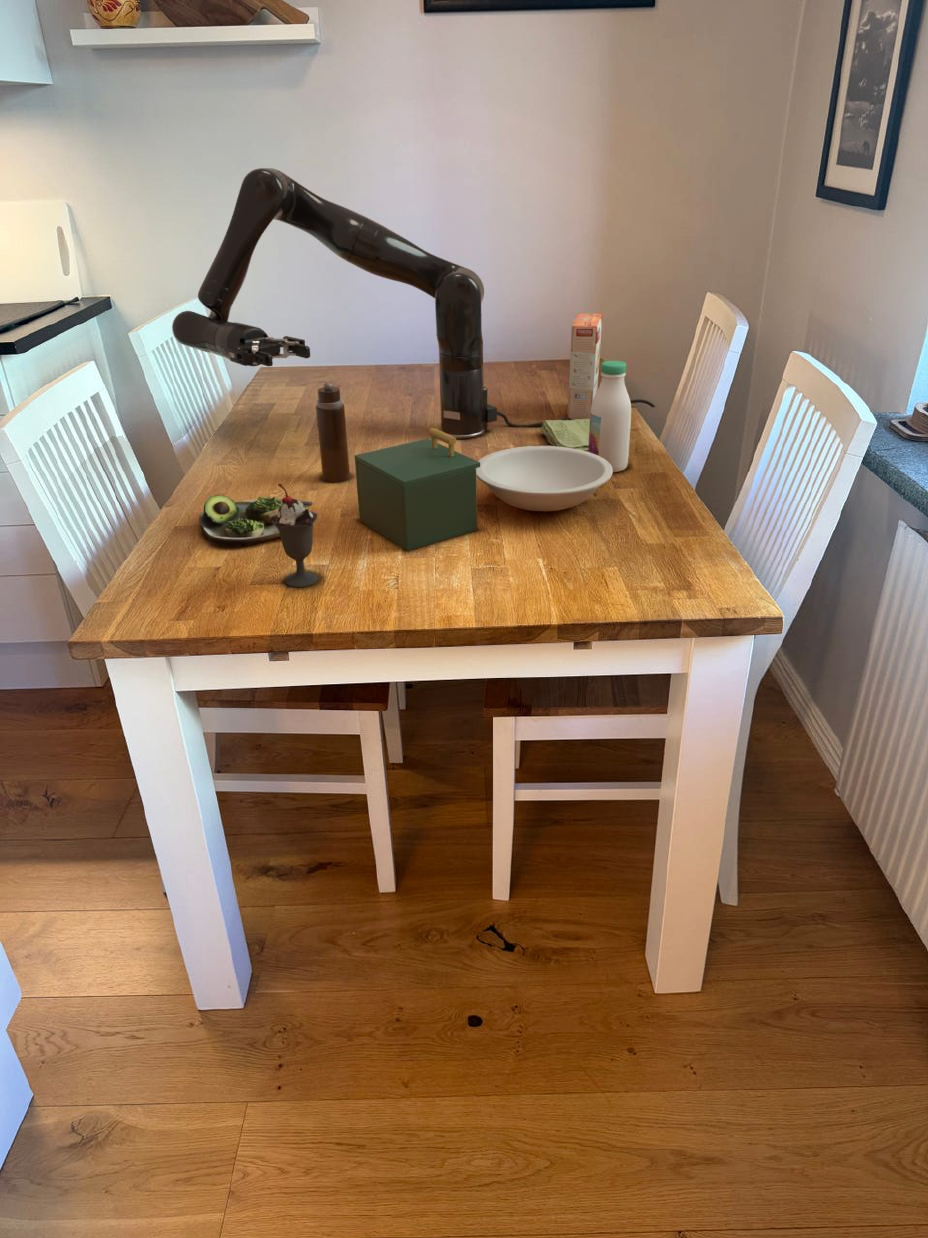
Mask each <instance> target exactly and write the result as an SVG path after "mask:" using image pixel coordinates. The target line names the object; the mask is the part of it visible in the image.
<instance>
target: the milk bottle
mask: <svg viewBox="0 0 928 1238" xmlns="http://www.w3.org/2000/svg"><path fill="white" fill-rule="evenodd" d="M626 373H627V363H626V362H624V361H621V360H605V361H603V362H602V363H601V364H600V376H601V379H600V383H599V385H598V387H597V392H596V394H595V396H594V399H593V402H592V406H591V413H590V428H589V446H588V452H590V453H593V454H595V455H598V456H600V457H602V458H604V459H605V460H606V461H608V462H609V463H610V464H611V466H612V469H613V473H618V472H621V471H624V470H626V469H627V468H628V465H629V452H630V441H631V440H630V439H631V426H632V425H631V424H632V423H631V422H632V403H631V402H630V400H631V399H630V396H629V393H628V390H627V387H626V383H625V376H626V375H627V374H626Z"/></svg>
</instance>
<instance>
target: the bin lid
mask: <svg viewBox="0 0 928 1238" xmlns="http://www.w3.org/2000/svg"><path fill="white" fill-rule="evenodd" d="M428 433H429V436H430V437H431V439H430V438H424V439H419V440H415V441H411V442H406V443H402V444H397V445H393V446H388V447H385V448H380V449H376V450H372V451H368V452H367V451H366V452H361V453H359V454H354V461H355V460H356V461H358V462H360V463H362V464H364V465H365V466H367V467H369V468H371V469H373V470H375V471H376V472H378V473H380V474H382V475H384V476H386V477H388V478H389V479H391V480H393V481H395V482H397V483H399V484H400V485H402V486H404V487H405V486H408V485H412V484H416V483H420V482H424V481H428V480H432V479H436V478H440V477H443V476H447V475H451V474H455V473H459V472H463V471H467V470H471V469H475V468H478V467H480V462H478V461H479V460H476V459H474V458H472V457H469V456H467V455H465V454H463V453H461V452H458V451H456V450H455V445H456V443H457V438H455V437H453V436H451V435H449V434H446V433H444V432H442V431H441V429H437V428H435V427H432V428H430V429H429V432H428ZM438 441H441V442H443V443H445V444H448V447H447V446H445V445H444V444H443V445H442V444H441V443H438Z"/></svg>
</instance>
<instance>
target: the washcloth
mask: <svg viewBox="0 0 928 1238" xmlns="http://www.w3.org/2000/svg"><path fill="white" fill-rule="evenodd" d="M543 422H544V423H543V425H542V426H541V428H540V432H541V434H542V435H543V436H545V438H546V440H547V442H548V443H549V444H550V445H551V446H558V447H567V448H573V449H578V450H583V451H586V452H588V446H589V428H590V419H579V420H578V419H575V420H566V421H564V420H563V421H562V419H549V420H547V419H546V420H544V421H543Z"/></svg>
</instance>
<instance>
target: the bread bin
mask: <svg viewBox="0 0 928 1238" xmlns="http://www.w3.org/2000/svg"><path fill="white" fill-rule="evenodd" d="M354 463H355V464H354V466H355V479H356V490H357V491H356V492H357V504H358V517H359V521H360V522H361V523H363V524H365V525H366V526H368V527H369V528H371V529H372V530H374V531H375V532H377V533H379V534H380V535H382V536H384V537H385V538H387V539H388V540H389V541H391V542H392V543H394V544H396V545H397V546H399V547H400V548H402V549H403V550H405V551H407V552H409V551H412V550H416V549H419V548H422V547H425V546H426V547H427V546H428V545H432V544H436V543H439V542H443V541H446V540H449V539H453V538H456V537H459V536H464V535H466V534H469V533H473V532H476V531H478V516H477V515H478V513H477V511H478V510H477V509H478V508H477V502H478V501H477V497H478V496H477V477H476V468H475V469H471V470H467V471H463V472H459V473H455V474H451V475H447V476H443V477H440V478H436V479H432V480H428V481H424V482H420V483H416V484H412V485H408V486H405V487H404V486H402V485H400V484H399V483H397V482H395V481H393V480H391V479H389V478H388V477H386V476H384V475H382V474H380V473H378V472H376V471H375V470H373V469H371V468H369V467H367V466H365V465H364V464H362V463H360V462H358V461H356V460H355V459H354Z"/></svg>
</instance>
